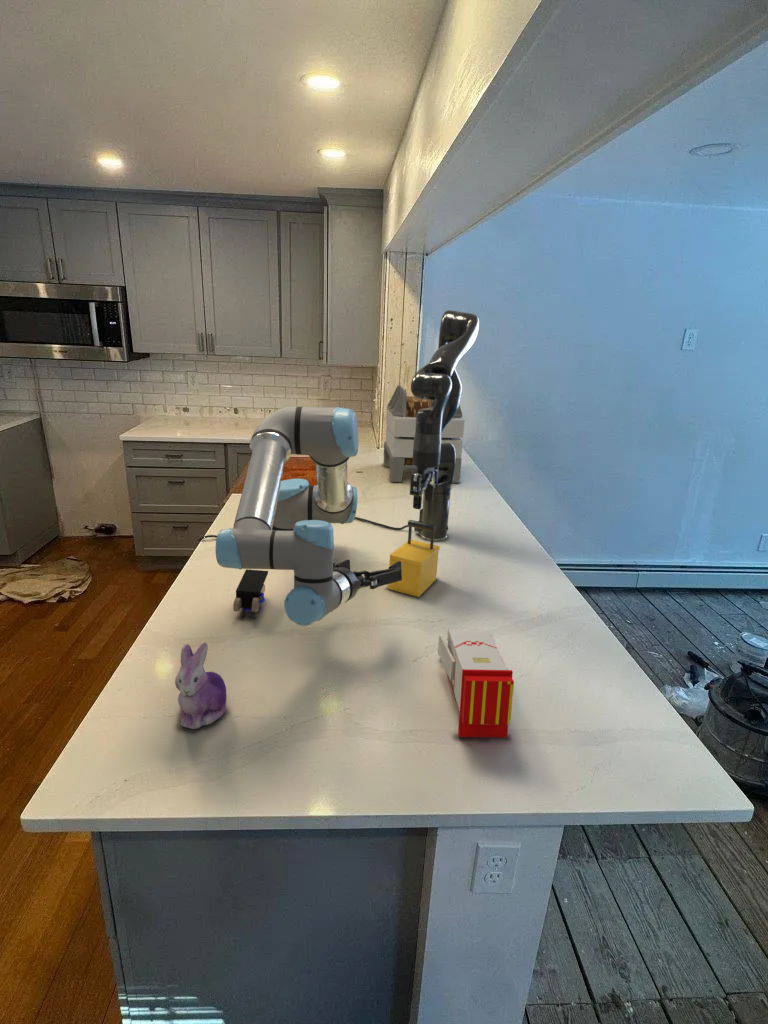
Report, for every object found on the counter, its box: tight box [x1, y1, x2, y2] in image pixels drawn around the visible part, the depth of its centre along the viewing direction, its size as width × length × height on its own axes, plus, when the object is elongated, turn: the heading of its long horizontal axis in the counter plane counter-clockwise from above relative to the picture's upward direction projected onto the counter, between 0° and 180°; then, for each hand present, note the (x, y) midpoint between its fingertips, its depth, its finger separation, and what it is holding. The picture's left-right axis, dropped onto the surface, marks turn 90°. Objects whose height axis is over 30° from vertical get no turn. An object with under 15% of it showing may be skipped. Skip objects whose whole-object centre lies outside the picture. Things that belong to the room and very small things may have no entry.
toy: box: [437, 628, 515, 738], centre depth 117 cm, size 12×13×30 cm
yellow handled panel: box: [389, 519, 441, 567], centre depth 160 cm, size 14×10×9 cm
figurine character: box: [232, 569, 269, 617], centre depth 147 cm, size 7×8×15 cm
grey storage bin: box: [383, 384, 465, 484], centre depth 268 cm, size 34×33×41 cm
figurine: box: [174, 642, 227, 730], centre depth 106 cm, size 9×10×15 cm
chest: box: [387, 551, 439, 598], centre depth 162 cm, size 13×10×9 cm
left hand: (373, 565), depth 140 cm, fingers open, 13 cm apart
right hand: (423, 504), depth 159 cm, fingers open, 8 cm apart
